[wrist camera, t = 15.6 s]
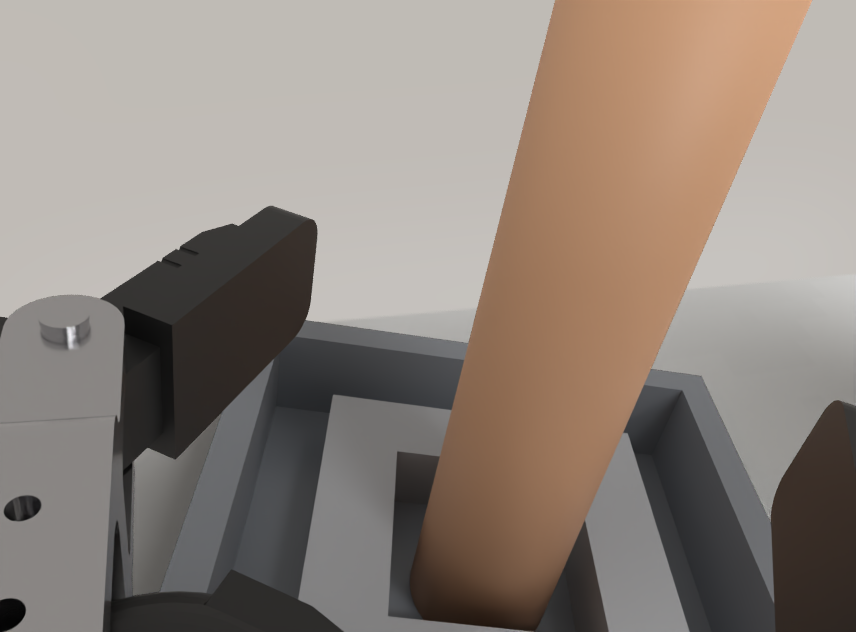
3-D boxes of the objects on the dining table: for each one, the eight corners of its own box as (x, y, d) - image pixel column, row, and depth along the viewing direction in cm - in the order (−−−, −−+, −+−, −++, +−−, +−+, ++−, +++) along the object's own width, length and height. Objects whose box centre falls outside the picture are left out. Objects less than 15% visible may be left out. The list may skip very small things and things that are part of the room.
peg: (535, 539, 24) (762, -40, 14) (553, 659, 20) (863, 7, 11) (411, 524, 23) (556, -81, 14) (407, 644, 20) (595, -44, 10)
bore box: (663, 454, 29) (701, 376, 27) (833, 932, 17) (930, 860, 15) (252, 401, 28) (256, 313, 25) (107, 879, 15) (89, 791, 13)
